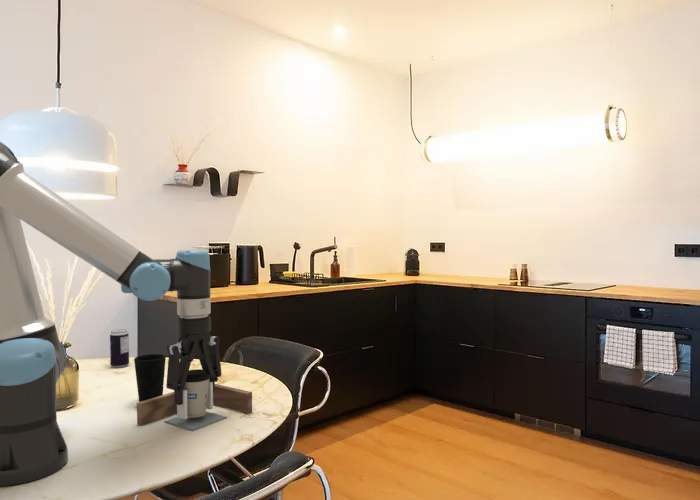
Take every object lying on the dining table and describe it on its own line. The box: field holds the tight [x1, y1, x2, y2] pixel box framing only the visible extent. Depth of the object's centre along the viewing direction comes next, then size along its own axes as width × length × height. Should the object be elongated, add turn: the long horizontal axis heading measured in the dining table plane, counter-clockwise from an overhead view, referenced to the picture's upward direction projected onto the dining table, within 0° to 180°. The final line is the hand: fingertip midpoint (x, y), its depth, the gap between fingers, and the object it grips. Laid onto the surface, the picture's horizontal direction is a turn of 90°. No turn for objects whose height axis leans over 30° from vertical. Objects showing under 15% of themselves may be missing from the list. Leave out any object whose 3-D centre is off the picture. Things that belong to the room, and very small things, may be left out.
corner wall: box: [136, 383, 253, 427], centre depth 126 cm, size 20×16×5 cm
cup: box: [133, 353, 166, 402], centre depth 137 cm, size 8×8×12 cm
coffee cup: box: [184, 368, 210, 417], centre depth 124 cm, size 7×7×10 cm
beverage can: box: [109, 328, 130, 369], centre depth 176 cm, size 6×6×12 cm
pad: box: [164, 410, 228, 432], centre depth 125 cm, size 10×10×1 cm
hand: (195, 412), depth 125 cm, fingers closed on coffee cup, 7 cm apart
